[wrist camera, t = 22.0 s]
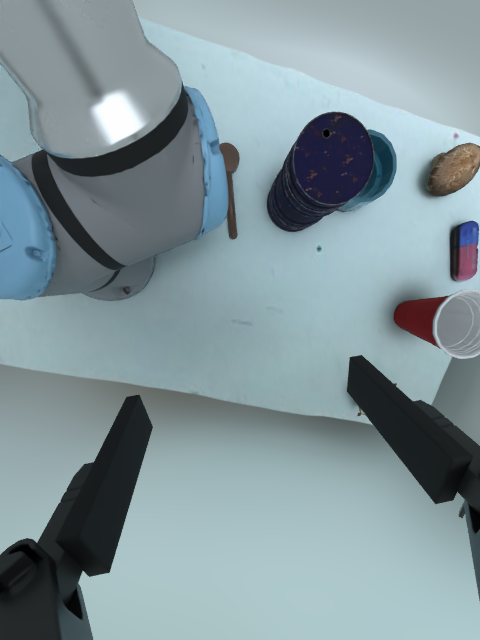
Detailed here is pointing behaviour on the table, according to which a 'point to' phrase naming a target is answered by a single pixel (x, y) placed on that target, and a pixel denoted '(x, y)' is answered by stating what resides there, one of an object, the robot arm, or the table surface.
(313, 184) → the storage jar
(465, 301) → the plastic cup
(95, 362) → the table surface
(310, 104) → the table surface
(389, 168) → the bowl
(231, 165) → the spoon
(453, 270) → the eraser
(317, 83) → the table surface
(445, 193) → the mushroom
